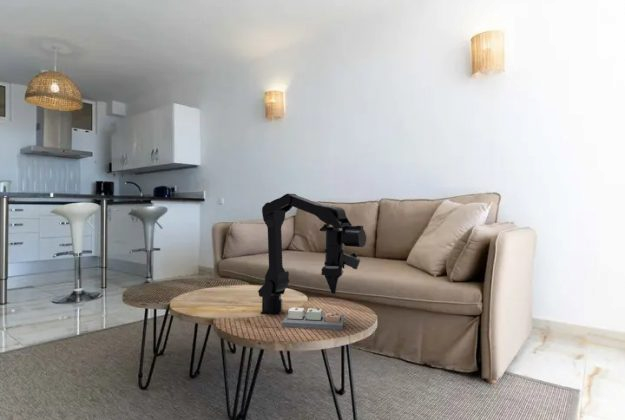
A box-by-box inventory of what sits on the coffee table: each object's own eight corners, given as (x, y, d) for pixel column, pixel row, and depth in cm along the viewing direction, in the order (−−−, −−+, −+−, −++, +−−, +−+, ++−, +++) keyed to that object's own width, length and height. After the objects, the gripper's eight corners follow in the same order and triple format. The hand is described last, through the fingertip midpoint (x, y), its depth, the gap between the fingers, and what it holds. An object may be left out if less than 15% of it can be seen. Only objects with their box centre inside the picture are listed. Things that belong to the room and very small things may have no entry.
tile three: (325, 324, 127) (325, 316, 127) (326, 320, 132) (326, 312, 132) (339, 325, 127) (339, 316, 127) (339, 321, 131) (340, 313, 131)
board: (282, 326, 125) (282, 322, 125) (289, 316, 137) (289, 312, 137) (342, 330, 123) (342, 325, 123) (344, 319, 135) (344, 315, 135)
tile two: (306, 319, 128) (306, 311, 128) (308, 315, 132) (308, 307, 132) (320, 320, 127) (320, 311, 127) (321, 316, 132) (322, 308, 132)
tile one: (288, 318, 129) (288, 310, 129) (290, 314, 133) (291, 306, 133) (302, 319, 128) (302, 310, 128) (304, 315, 133) (304, 307, 133)
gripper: (358, 248, 119) (357, 301, 119) (359, 243, 137) (358, 288, 137) (321, 248, 120) (321, 299, 120) (327, 243, 139) (326, 287, 139)
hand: (333, 293), depth 129 cm, fingers closed
